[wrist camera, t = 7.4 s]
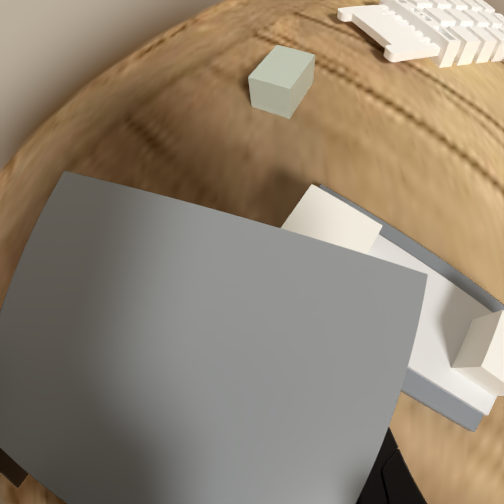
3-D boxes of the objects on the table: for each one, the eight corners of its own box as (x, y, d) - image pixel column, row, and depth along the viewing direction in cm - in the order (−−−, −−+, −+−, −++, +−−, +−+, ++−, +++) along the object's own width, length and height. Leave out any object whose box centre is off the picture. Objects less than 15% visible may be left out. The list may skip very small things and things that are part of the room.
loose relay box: (289, 119, 28) (290, 89, 25) (251, 107, 29) (248, 77, 26) (312, 84, 30) (315, 54, 26) (277, 73, 31) (277, 44, 27)
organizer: (533, 42, 28) (401, 46, 26) (524, 60, 32) (392, 78, 30) (481, -1, 32) (332, -5, 30) (475, 17, 37) (330, 23, 35)
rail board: (468, 430, 18) (508, 440, 13) (247, 293, 23) (237, 272, 18) (515, 321, 20) (556, 309, 15) (319, 190, 25) (327, 148, 20)
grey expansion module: (285, 436, 14) (298, 595, 2) (170, 393, 15) (-25, 421, 3) (319, 341, 15) (427, 274, 4) (204, 303, 16) (64, 170, 5)
